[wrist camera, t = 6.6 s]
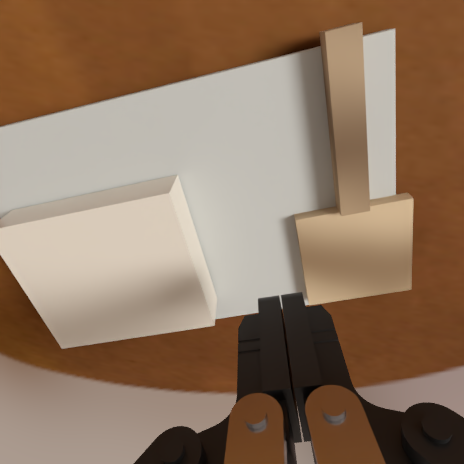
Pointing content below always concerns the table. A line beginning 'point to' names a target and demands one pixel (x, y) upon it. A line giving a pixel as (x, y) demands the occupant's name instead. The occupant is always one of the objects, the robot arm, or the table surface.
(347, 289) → the turner
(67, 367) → the table surface
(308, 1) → the table surface
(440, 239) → the table surface
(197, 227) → the mat
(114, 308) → the tile
